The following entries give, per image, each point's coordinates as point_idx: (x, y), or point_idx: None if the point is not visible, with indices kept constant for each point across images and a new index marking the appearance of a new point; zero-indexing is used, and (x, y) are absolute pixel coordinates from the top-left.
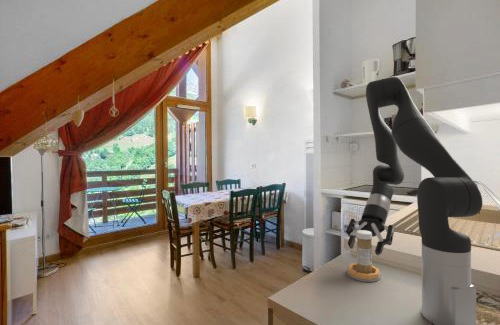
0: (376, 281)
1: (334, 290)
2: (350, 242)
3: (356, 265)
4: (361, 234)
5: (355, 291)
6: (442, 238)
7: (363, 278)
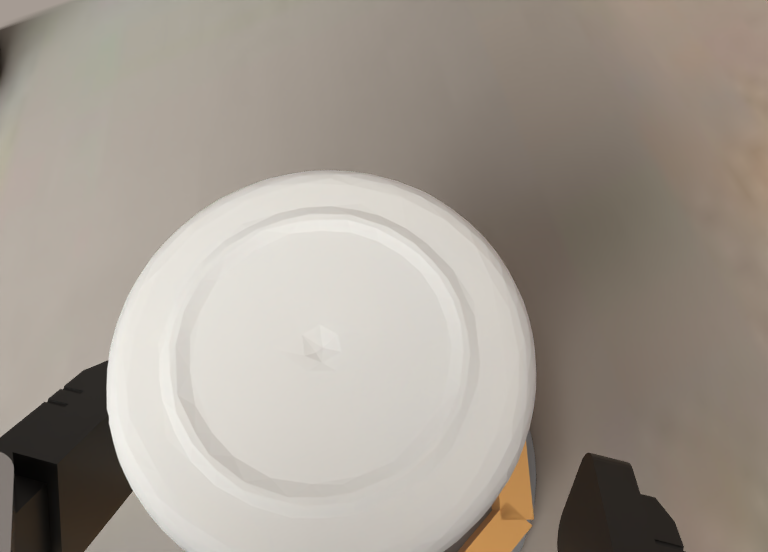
0: None
1: (512, 92)
2: (620, 495)
3: (464, 549)
4: (368, 179)
5: (383, 141)
6: None
7: None
